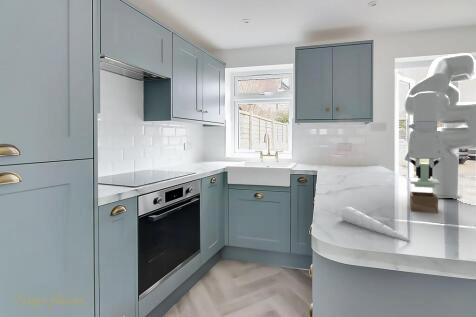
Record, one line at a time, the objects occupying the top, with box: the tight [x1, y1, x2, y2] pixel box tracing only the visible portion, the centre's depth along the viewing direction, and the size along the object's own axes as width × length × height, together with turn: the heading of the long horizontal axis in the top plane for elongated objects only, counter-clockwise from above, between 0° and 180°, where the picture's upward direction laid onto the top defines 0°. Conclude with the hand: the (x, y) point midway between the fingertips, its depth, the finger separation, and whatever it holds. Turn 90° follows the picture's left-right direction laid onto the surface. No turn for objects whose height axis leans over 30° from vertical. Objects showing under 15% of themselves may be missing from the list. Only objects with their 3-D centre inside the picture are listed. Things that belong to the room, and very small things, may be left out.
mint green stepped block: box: [409, 162, 440, 189], centre depth 111 cm, size 12×9×8 cm
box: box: [409, 191, 439, 214], centre depth 111 cm, size 11×8×6 cm
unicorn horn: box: [340, 206, 411, 242], centre depth 87 cm, size 5×24×5 cm, turn 17°
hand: (424, 177), depth 111 cm, fingers closed on mint green stepped block
